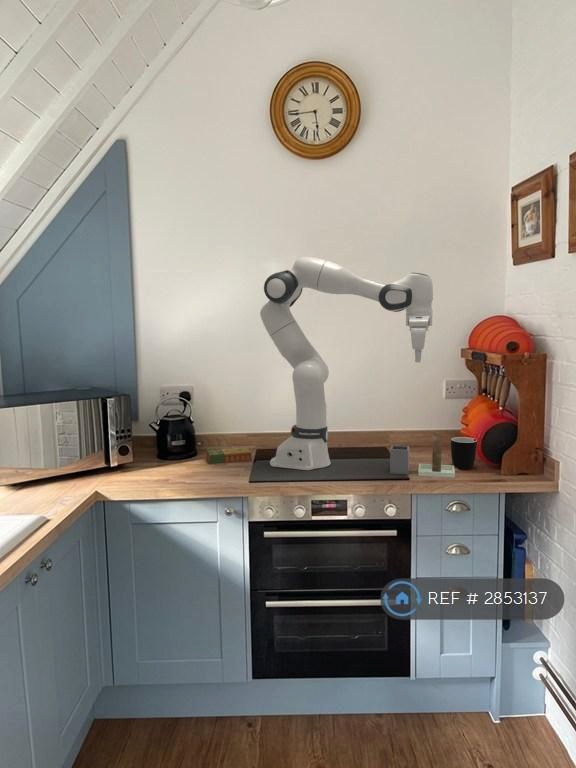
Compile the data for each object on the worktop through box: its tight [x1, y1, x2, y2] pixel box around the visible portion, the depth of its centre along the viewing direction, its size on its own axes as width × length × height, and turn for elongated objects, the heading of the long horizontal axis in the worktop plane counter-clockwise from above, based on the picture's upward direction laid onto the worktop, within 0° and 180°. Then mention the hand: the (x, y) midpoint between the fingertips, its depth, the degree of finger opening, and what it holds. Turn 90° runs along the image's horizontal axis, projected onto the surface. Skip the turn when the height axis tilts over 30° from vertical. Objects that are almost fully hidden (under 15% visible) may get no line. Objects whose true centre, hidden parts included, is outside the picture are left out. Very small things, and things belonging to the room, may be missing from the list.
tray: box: [417, 463, 456, 479], centre depth 208 cm, size 12×10×2 cm
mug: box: [450, 436, 478, 470], centre depth 218 cm, size 12×9×10 cm
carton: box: [205, 446, 252, 465], centre depth 229 cm, size 8×16×4 cm, turn 106°
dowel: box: [431, 431, 443, 472], centre depth 207 cm, size 3×3×14 cm
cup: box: [389, 445, 410, 475], centre depth 209 cm, size 6×6×9 cm
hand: (418, 361), depth 207 cm, fingers open, 8 cm apart
